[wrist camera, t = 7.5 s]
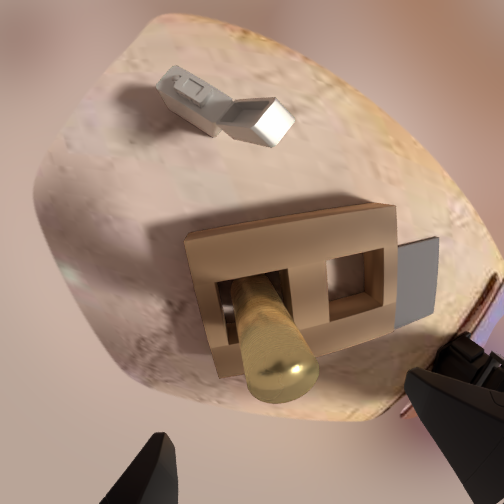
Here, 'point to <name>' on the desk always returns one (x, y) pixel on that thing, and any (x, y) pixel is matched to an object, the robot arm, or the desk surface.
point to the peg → (270, 343)
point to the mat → (416, 281)
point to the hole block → (301, 275)
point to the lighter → (224, 110)
